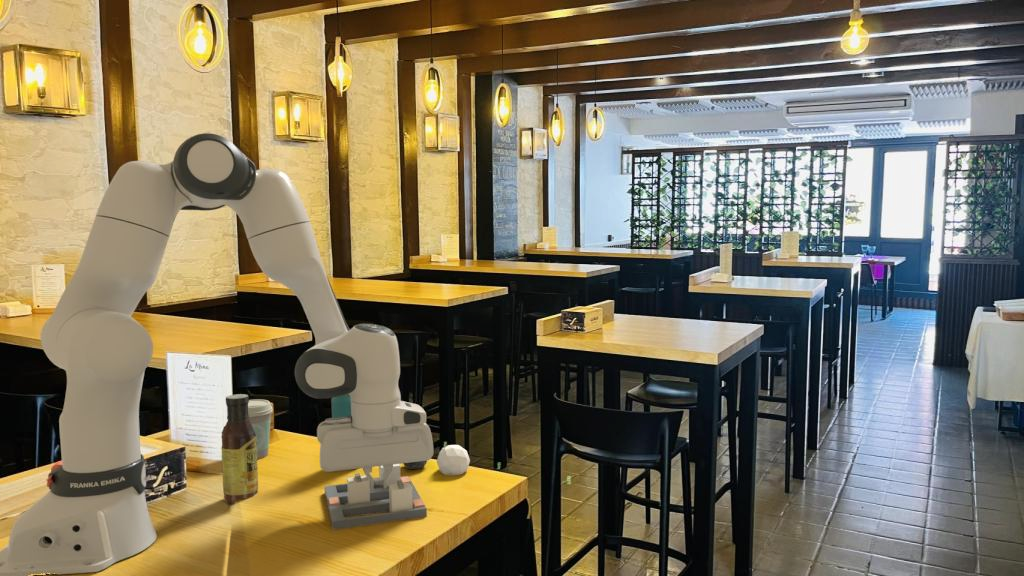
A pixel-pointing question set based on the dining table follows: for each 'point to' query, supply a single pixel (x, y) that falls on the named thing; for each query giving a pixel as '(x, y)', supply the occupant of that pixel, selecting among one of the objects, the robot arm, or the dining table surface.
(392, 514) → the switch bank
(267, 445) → the coffee cup
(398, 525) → the dining table surface
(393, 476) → the tab
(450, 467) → the ornament
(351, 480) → the tab
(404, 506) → the tab
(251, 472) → the sauce bottle
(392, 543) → the dining table surface
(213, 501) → the dining table surface
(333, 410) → the beverage bottle
